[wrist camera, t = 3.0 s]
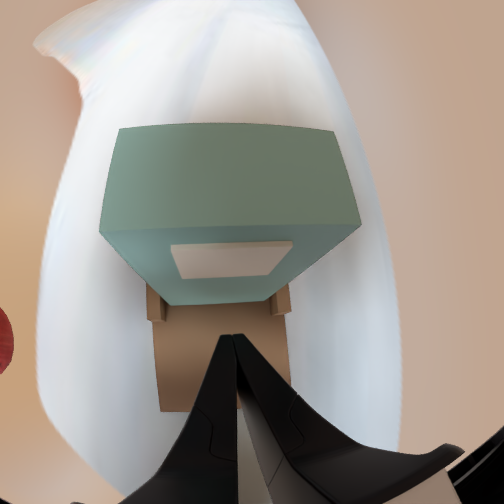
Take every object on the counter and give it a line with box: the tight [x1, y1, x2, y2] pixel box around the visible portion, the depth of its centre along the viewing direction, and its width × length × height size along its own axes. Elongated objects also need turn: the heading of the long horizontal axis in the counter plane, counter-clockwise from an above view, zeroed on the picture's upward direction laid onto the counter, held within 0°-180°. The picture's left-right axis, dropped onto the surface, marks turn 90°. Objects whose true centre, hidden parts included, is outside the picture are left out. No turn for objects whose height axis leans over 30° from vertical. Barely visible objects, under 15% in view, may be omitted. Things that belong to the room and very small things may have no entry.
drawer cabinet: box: [146, 282, 291, 412], centre depth 14 cm, size 14×9×9 cm, turn 5°
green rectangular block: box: [99, 123, 362, 306], centre depth 12 cm, size 3×6×12 cm, turn 95°
